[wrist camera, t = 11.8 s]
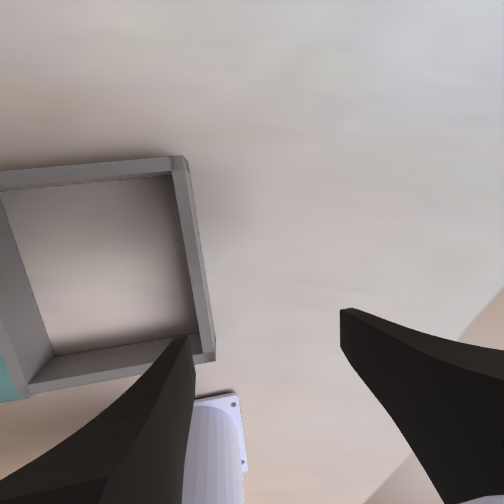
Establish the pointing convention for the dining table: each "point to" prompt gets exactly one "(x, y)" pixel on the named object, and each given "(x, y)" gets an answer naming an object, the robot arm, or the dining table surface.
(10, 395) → the mat
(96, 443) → the robot arm
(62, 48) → the dining table surface
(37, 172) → the bin
